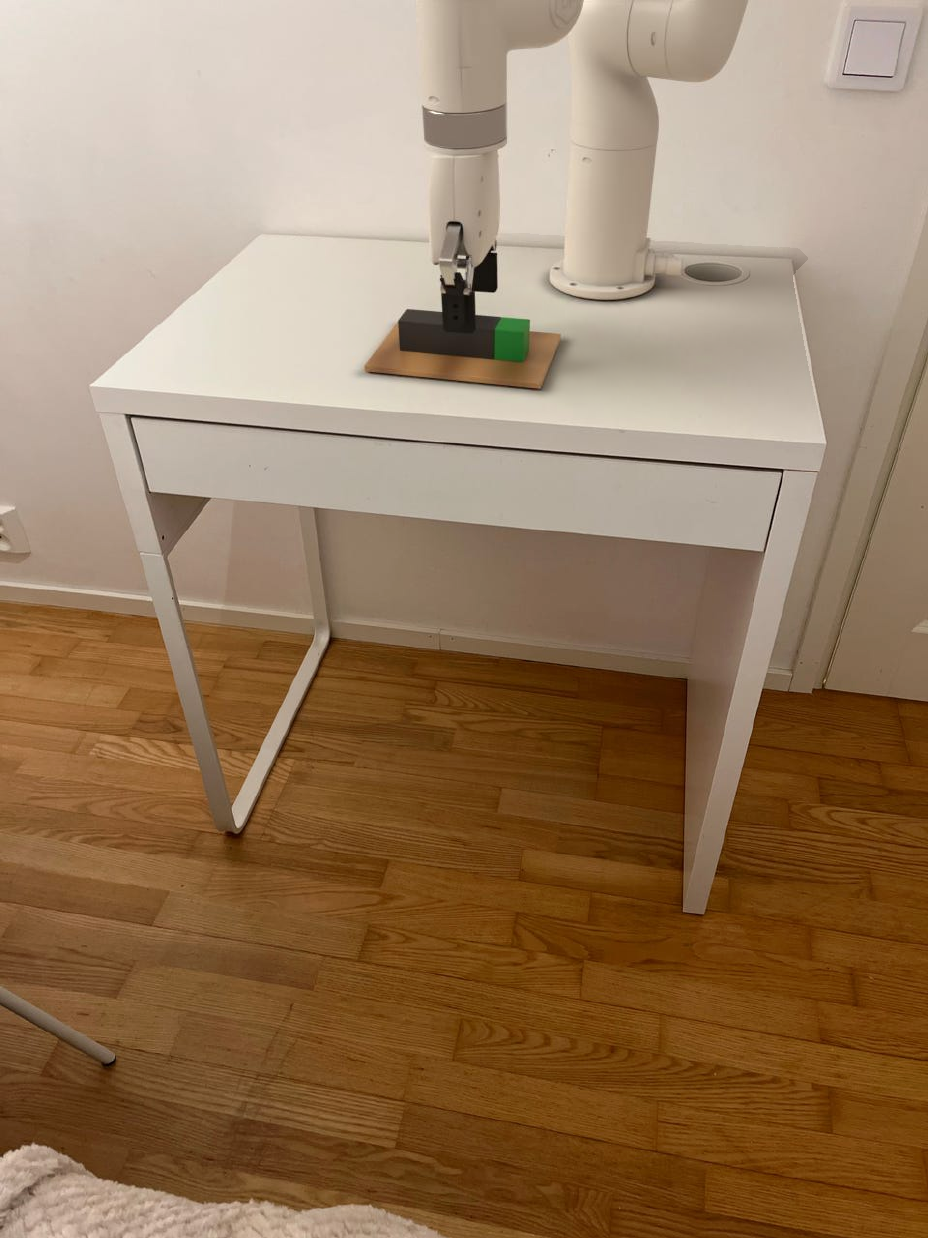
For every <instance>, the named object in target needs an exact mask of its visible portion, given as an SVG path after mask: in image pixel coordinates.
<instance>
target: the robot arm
mask: <svg viewBox="0 0 928 1238" xmlns="http://www.w3.org/2000/svg"><path fill="white" fill-rule="evenodd" d="M748 3H749V0H415V16H416V29H417V31H416V32H417V33H416V34H417V47H418V65H419V80H420V94H421V95H420V96H421V98H420V99H421V112H422V113H421V114H422V130H423V131H422V133H423V145H424V148H425V149H426V151H430V156H429V170H428V241H429V243H428V245H429V260H430V262H431V264H433V266H438V265H439V266H438V267H439V270H440V275H439V276H440V277H439V282H440V286H439V287H440V299H441V312H442V319H443V329H444V331H446V332H456V333H470V334H472V333H474V332H475V330H476V315H477V314H476V292H478V293H489V294H490V293H493V294H494V293H496V292H497V291H498V287H499V286H498V285H499V284H498V281H499V280H498V252H496V251H497V248H498V247H497V246H498V242H497V241H498V240H497V238H498V235H499V230H500V219H501V218H500V217H501V215H500V210H501V199H500V194H501V193H500V169H499V168H500V167H499V156H500V155H499V151H498V150H500V149H503V148H504V147H505V146H506V145H507V144H508V60H507V58H508V53H509V52H511V51H517V50H532V49H542V48H548V47H550V46H553V45H555V44H557V43H559V42H560V41H561V40H563V39H564V38H565V37H567V46H568V55H569V62H570V73H571V115H570V116H571V117H570V118H571V120H570V136H569V137H570V138H569V155H568V171H567V172H568V173H567V192H566V207H565V208H566V209H565V225H564V227H565V228H564V245H563V259H561V260H559V261H556V262H555V263H554V264H553V265H552V266H551V267H550V270H549V282H550V284H551V285H552V287H554V288H555V289H557V290H558V291H559V292H562V293H564V294H567V295H569V296H573V297H578V298H583V299H590V300H600V301H603V300H605V301H610V300H613V301H614V300H625V299H628V298H634V297H637V296H640V295H643V294H645V293H647V292H648V291H650V290H651V289H652V288H653V287H654V286H655V283H656V274H665V275H669V276H682V270H683V264H684V263H683V262H684V257H675V252H671V251H655V248H651V237H648V227H649V220H650V219H649V218H650V211H651V201H652V191H653V183H654V175H655V174H654V173H655V167H656V166H655V164H656V156H657V145H658V139H659V129H660V116H659V109H658V104H657V101H656V97H655V94H654V92H653V89H652V87H651V84H650V81H649V79H648V78H652V79H661V80H669V81H676V82H683V83H703V82H706V81H709V80H711V79H713V78H714V77H716V76H717V75H718V74H719V73H720V72H721V71H722V70H723V68H724V67H725V66H726V64H727V62H728V60H729V58H730V56H731V55H732V51H733V50H734V47H735V44H736V41H737V38H738V35H739V32H740V29H741V27H742V23H743V19H744V17H745V13H746V11H747V6H748ZM459 256H460V257H461V258H460V257H459ZM458 257H459V258H458ZM462 257H465V258H462ZM458 269H461V270H465V271H464V276H463V275H462V273H461V272H459V271H458Z"/></svg>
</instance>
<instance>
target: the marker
mask: <svg viewBox="0 0 928 1238" xmlns="http://www.w3.org/2000/svg"><path fill="white" fill-rule="evenodd" d="M397 322H398V328H399V345H400V351H410V352H420V353H431V354H441V355H452V356H462V357H473V358H483V359H496V360H506V361H517V362H523V361H524V359H525V357H526V355H527V352H528V350H529V337H530V331H531V320H530V319H526V318H518V317H517V318H515V317H503V316H496V315H495V316H493V315H483V314H476V330H475V332H474V333H472V334H470V333H456V332H446V331H444V329H443V319H442V311H437V310H436V311H435V310H424V309H411V308H406V310H404V312H403V314H402V315H401V317H399V318H398V320H397Z"/></svg>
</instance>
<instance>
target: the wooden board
mask: <svg viewBox="0 0 928 1238" xmlns="http://www.w3.org/2000/svg"><path fill="white" fill-rule="evenodd" d="M561 339H562V333H556V332H545V331H531V330H530V337H529V350H528V352H527V355H526V357H525V359H524V361H523V362H517V361H506V360H496V359H483V358H473V357H462V356H452V355H441V354H431V353H420V352H410V351H400V345H399V328H398V321H397V322H396V323H395V324H394V325H393V327H392V328H391V330H390V331H389V333H388V334H387V336H385V338H384V339H383V340H382V342H381V343H380V344H379V346H378V347H377V348H376V350H375V351H374V353H373V354H372V355H371V357H370V358H369V359H368V360H367V362H366V363H365V365H364V371H365V372H369V373H370V372H371V373H380V374H391V375H401V376H408V377H409V376H410V377H411V376H412V377H420V378H430V379H431V378H432V379H439V380H440V379H441V380H449V381H451V380H452V381H460V382H469V383H479V384H480V383H482V384H489V385H500V386H511V387H519V388H530V389H539V390H540V389H541V388H542V386H543V383H544V381H545V378H546V377H547V374H548V372H549V370H550V369H549V368H550V366H551V363H552V361H553V359H554V356H555V354H556V352H557V349H558V346H559V344H560V341H561Z"/></svg>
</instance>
